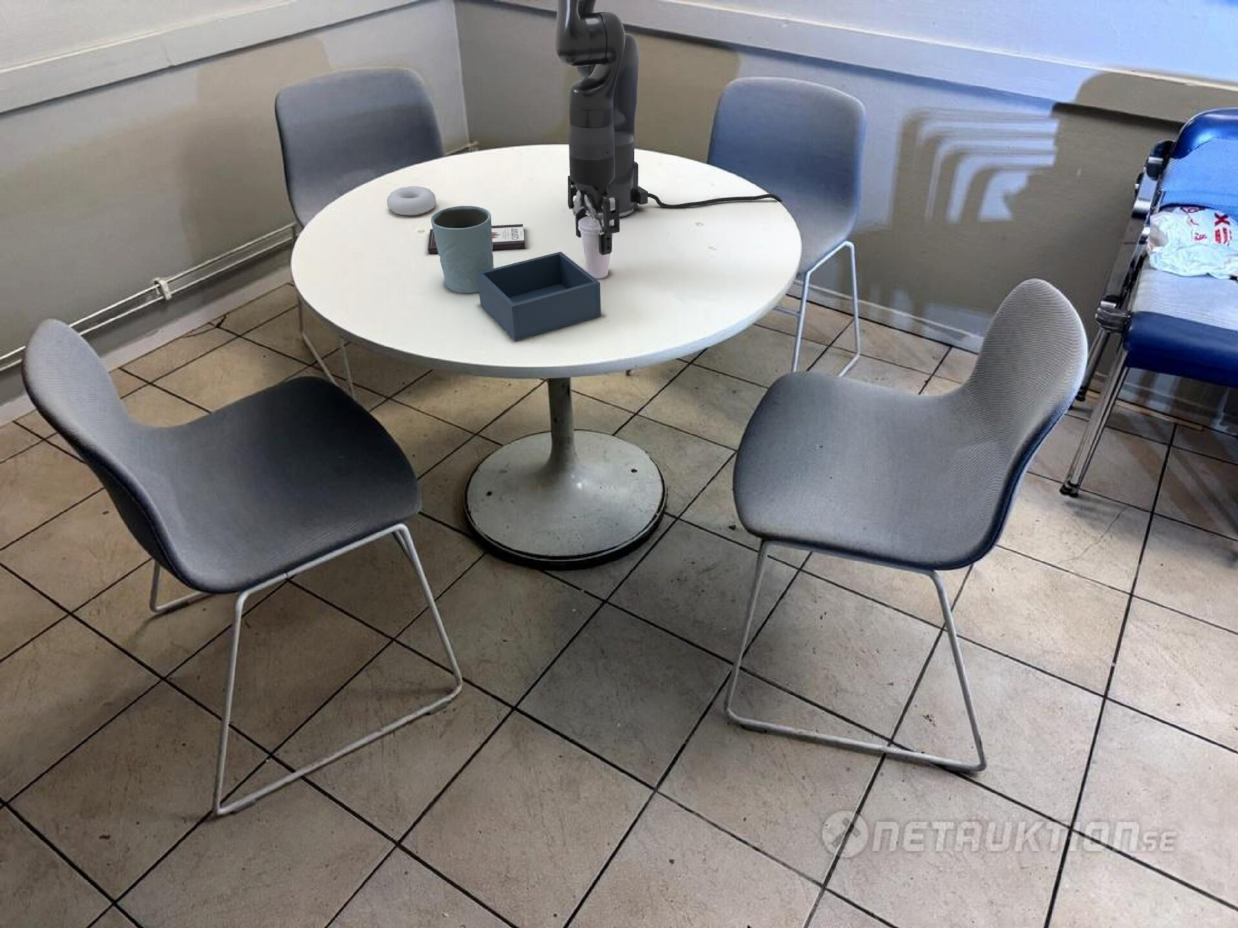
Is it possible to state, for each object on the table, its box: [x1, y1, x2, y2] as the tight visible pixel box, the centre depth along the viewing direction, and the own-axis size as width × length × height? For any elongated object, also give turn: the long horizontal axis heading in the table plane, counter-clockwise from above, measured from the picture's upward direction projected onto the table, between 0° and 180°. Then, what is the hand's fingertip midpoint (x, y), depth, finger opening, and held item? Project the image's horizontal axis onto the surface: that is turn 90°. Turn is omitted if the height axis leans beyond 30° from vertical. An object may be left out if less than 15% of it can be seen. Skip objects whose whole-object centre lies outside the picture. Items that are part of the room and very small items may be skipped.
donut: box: [386, 185, 437, 216], centre depth 172 cm, size 10×4×10 cm
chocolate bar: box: [427, 223, 526, 254], centre depth 160 cm, size 9×1×18 cm
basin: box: [477, 251, 602, 342], centre depth 137 cm, size 16×14×6 cm
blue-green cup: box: [430, 205, 495, 294], centre depth 143 cm, size 10×10×12 cm
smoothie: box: [578, 214, 614, 279], centre depth 145 cm, size 6×6×14 cm
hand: (593, 244), depth 146 cm, fingers open, 8 cm apart
